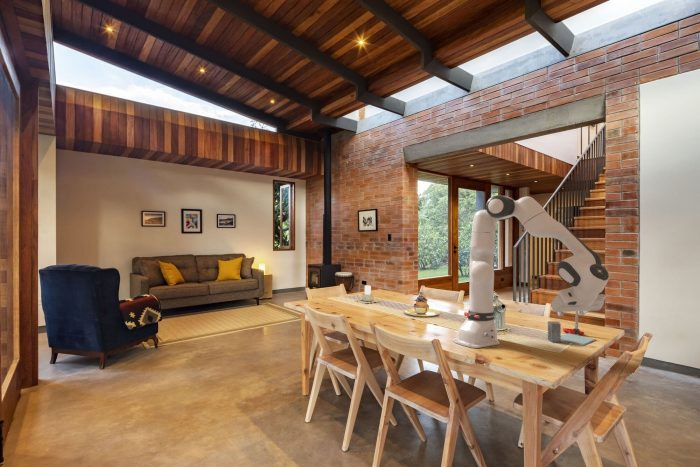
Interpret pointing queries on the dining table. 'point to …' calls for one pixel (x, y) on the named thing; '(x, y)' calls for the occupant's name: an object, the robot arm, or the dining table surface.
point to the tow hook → (575, 330)
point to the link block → (554, 331)
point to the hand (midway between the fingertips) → (570, 314)
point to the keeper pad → (576, 339)
